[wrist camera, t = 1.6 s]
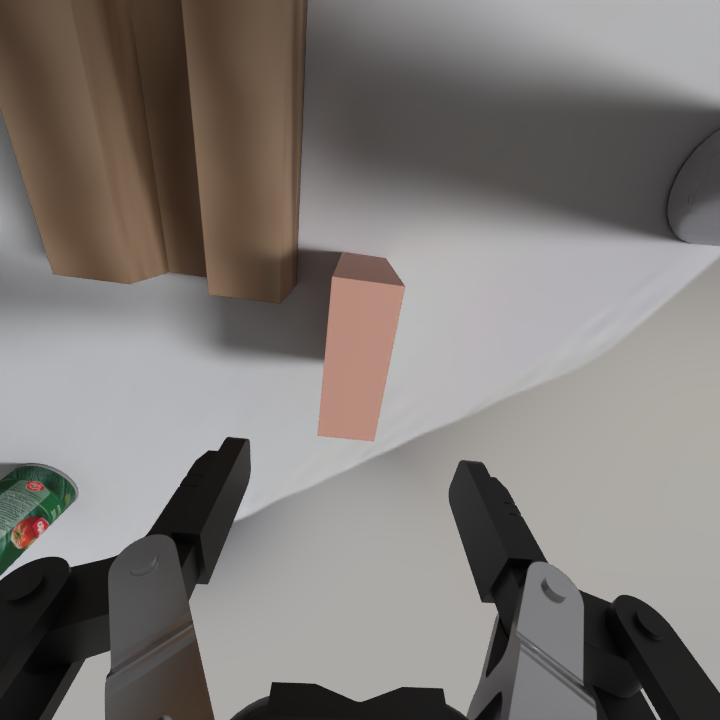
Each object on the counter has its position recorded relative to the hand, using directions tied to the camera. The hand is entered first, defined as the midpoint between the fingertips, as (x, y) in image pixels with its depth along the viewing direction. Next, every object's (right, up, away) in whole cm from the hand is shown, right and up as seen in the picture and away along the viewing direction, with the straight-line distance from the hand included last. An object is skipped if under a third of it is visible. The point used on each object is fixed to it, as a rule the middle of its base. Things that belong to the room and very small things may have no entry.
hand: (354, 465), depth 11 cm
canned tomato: (-42, -13, +28) cm, 52 cm away
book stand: (-12, +21, +12) cm, 27 cm away
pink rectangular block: (0, +9, +18) cm, 20 cm away
